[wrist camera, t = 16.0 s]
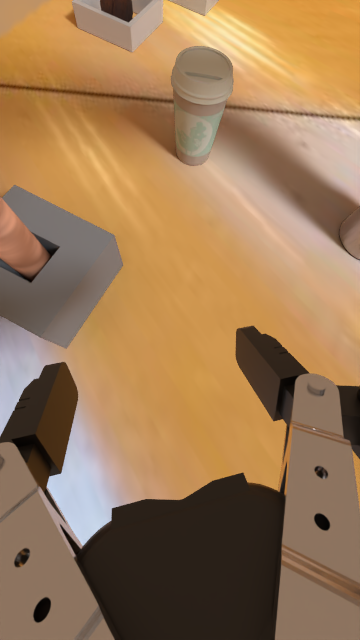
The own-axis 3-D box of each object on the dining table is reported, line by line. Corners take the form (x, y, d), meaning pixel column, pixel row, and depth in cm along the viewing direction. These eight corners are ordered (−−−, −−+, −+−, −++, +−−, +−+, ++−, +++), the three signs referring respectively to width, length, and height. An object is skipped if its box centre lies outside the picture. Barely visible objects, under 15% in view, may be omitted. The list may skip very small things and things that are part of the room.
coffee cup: (158, 153, 41) (157, 63, 30) (187, 128, 44) (197, 34, 32) (197, 180, 40) (212, 97, 29) (225, 152, 43) (249, 65, 31)
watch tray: (111, -1, 53) (108, -27, 49) (162, 21, 52) (163, -4, 49) (77, 27, 49) (71, 1, 46) (132, 52, 48) (130, 27, 45)
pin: (47, 260, 33) (-34, 173, 19) (72, 273, 32) (8, 193, 19) (29, 284, 32) (-70, 209, 18) (55, 297, 31) (-26, 231, 18)
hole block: (41, 223, 36) (14, 184, 29) (123, 265, 35) (114, 235, 28) (-24, 299, 32) (-74, 275, 25) (66, 348, 31) (40, 337, 24)
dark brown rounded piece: (132, 16, 52) (127, -41, 45) (135, 40, 50) (130, -17, 43) (94, 15, 51) (84, -44, 44) (95, 38, 49) (85, -20, 42)
